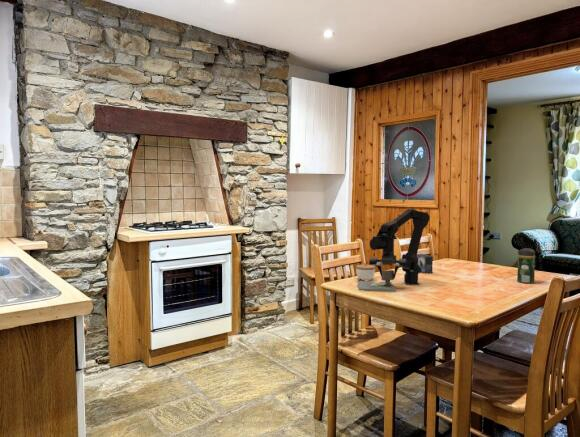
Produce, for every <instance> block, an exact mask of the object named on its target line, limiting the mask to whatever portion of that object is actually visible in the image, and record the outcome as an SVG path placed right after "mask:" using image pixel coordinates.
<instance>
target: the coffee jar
mask: <svg viewBox="0 0 580 437" xmlns="http://www.w3.org/2000/svg"><path fill="white" fill-rule="evenodd" d="M535 261H536V251H535V250H534V249H533V248H530V247H529V248H527V247H524V248H522V249H520V250H518V251H517V274H516V275H517V277H516V279H517V280H516V281H517V282H518V283H523V284H533V283H534V282H535V274H536V273H535V270H536V268H535V267H536V262H535Z"/></svg>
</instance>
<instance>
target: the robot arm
mask: <svg viewBox="0 0 580 437" xmlns="http://www.w3.org/2000/svg"><path fill="white" fill-rule="evenodd" d="M430 218H431V217H430V214H429V212H426V211H419V210H417V209H415V208H408V209H406V210H405V211H404V212H402V213H401V214H400V215H398V216H397V217H396V218H394V219H393V220H391V221H387V222H384V223H382V224H381V225H380V228H379V230H378V233H377V234H376V236H375V235H374V236H372V238H371V240H370V242H369V247H370V249H371V250H372V251H377V250H382V256H381V259H379V257H370V258H369V260H368V261H369V262H368V265H373V266H375V267H377V269H378V271H379V274H380V276H381V278H382V271H383V266H392V265H394V270H393V271H394V280H395V278H396V275H397V272H398V270H399V268H401V269H402V272H404V275H403V276H404V277H403V283H405V285H415V286H416V285H419V284H420V283H419V274H422V273H421V270H422V269H421V268H420V266H419V265H418V257H417V254H418V251H419V248H420V243H421V239H422V236H423V232H424V231H423V230H424V229H425V228H426V227H427V226H428V225H429V222H430ZM410 220H411V221H412V225H413V226H412V227H413V229H412V234H411V237H410V240H409V245H408V248H407V252H406V253H404V254H402V256H401V258H399V259H397V255H396V254H395V240H398V237H397V236H396V234H397V233H398V232H399V229H400V227H401V226H403V225H405V224H406V223H407V222H408V221H410Z"/></svg>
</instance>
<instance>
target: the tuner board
mask: <svg viewBox="0 0 580 437" xmlns="http://www.w3.org/2000/svg"><path fill="white" fill-rule="evenodd" d="M392 282H393V281H390V283H391V284H392V285H391V286H386V285H376V286H370V284H381V283H385V281H372V280H370V281H362V280H359V281H356V283H358V284H357V287H359V288H358V291H359V290H364V291H363V292H366V291H367V292H394V293H395V292H397V288H396V287H395V286H394V284H393V283H392Z"/></svg>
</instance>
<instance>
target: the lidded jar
mask: <svg viewBox="0 0 580 437" xmlns="http://www.w3.org/2000/svg"><path fill="white" fill-rule="evenodd" d="M355 272H356V276H357V278H358V279H359V280H360V279H362V280H370V281H372V280H373V278H374V277H375V273H376V266H375V265H370V264H368V263H366V262H365V263H364V264H357V265H355ZM362 280H361V281H362Z"/></svg>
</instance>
